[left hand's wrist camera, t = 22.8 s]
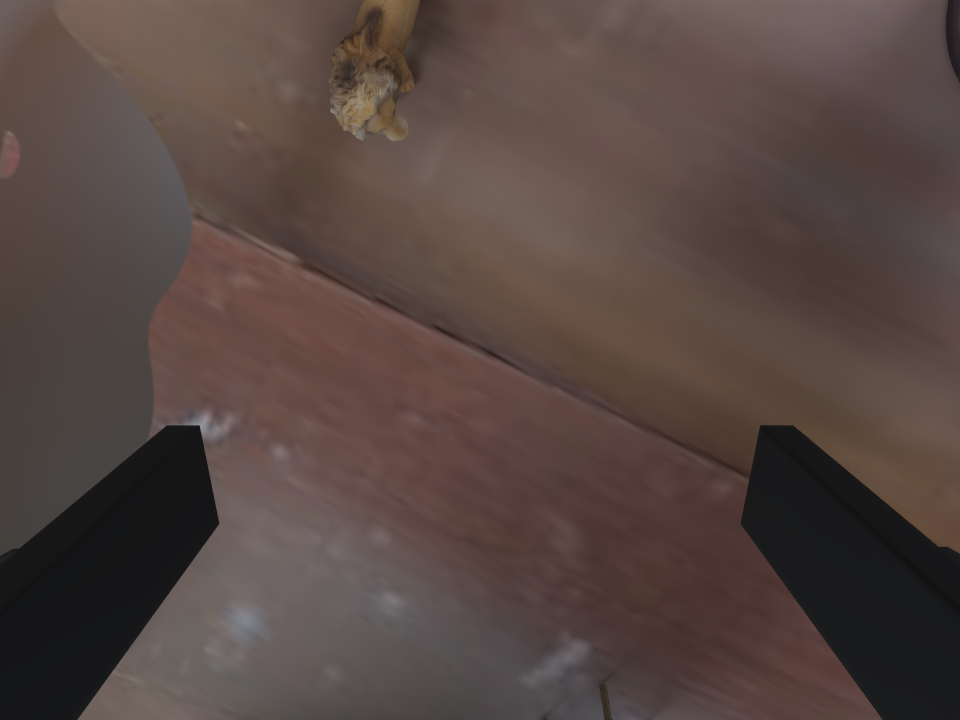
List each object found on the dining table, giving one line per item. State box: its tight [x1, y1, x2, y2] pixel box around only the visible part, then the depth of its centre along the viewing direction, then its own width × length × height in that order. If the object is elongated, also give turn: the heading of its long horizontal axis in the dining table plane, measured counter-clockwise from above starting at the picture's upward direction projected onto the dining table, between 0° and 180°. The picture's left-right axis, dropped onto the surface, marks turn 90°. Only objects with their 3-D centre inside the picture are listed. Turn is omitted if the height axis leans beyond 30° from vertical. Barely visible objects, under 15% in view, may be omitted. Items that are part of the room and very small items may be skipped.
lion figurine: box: [328, 0, 420, 141], centre depth 31 cm, size 15×5×9 cm, turn 162°
